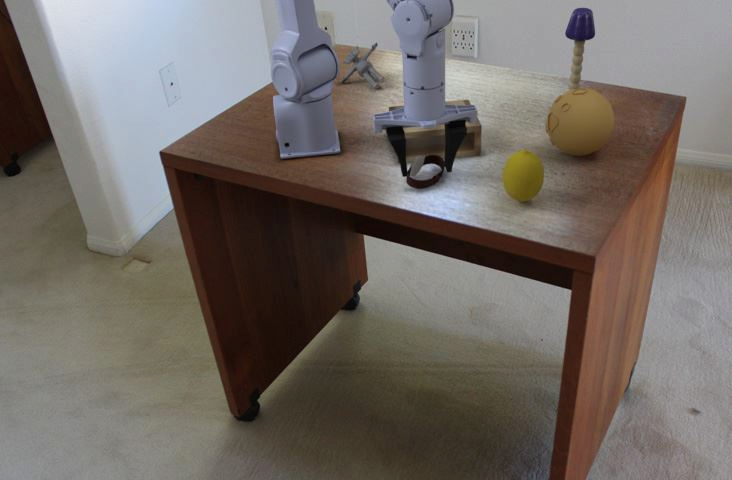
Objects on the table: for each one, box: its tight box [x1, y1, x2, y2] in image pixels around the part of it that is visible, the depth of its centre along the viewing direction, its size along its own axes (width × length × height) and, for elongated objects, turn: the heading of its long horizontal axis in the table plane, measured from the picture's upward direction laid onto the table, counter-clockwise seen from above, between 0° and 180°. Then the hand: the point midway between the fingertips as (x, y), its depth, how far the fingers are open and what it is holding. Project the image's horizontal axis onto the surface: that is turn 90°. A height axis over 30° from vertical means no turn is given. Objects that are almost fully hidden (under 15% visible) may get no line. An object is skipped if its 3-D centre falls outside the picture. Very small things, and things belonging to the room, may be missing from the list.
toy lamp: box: [564, 7, 596, 91], centre depth 122 cm, size 5×5×17 cm
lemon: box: [502, 149, 545, 204], centre depth 102 cm, size 6×6×8 cm
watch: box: [405, 155, 446, 190], centre depth 109 cm, size 8×5×4 cm, turn 145°
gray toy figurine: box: [340, 42, 386, 90], centre depth 140 cm, size 10×6×9 cm
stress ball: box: [544, 86, 615, 157], centre depth 112 cm, size 10×10×10 cm
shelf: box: [388, 99, 483, 164], centre depth 118 cm, size 13×10×5 cm
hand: (426, 171), depth 110 cm, fingers closed on watch, 6 cm apart
